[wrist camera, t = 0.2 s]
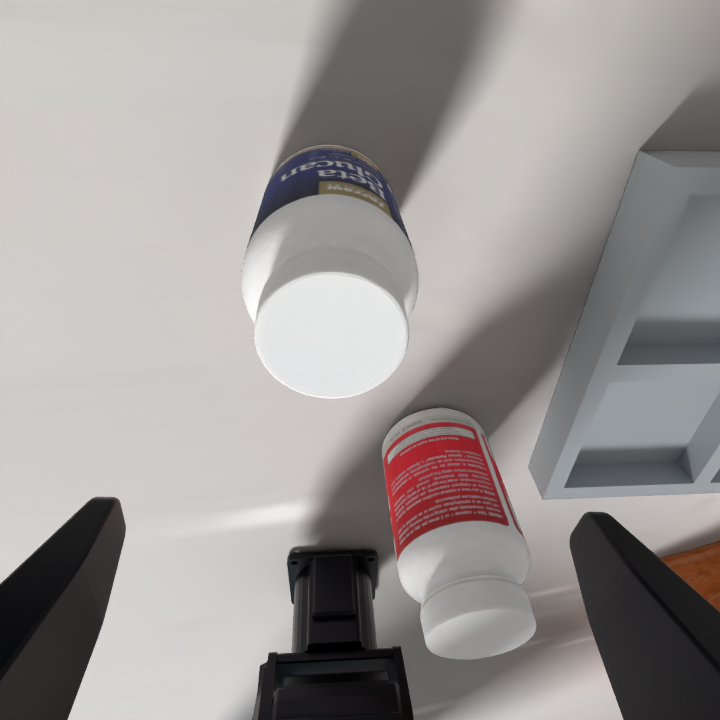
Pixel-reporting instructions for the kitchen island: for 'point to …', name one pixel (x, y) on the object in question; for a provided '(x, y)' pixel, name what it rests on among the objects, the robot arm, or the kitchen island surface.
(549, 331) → the kitchen island surface
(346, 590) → the robot arm
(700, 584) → the bread
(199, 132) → the kitchen island surface
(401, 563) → the pill bottle
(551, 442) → the carton tray
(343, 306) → the pill bottle
